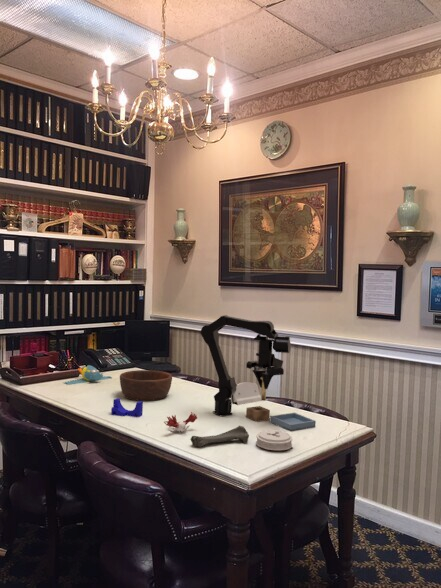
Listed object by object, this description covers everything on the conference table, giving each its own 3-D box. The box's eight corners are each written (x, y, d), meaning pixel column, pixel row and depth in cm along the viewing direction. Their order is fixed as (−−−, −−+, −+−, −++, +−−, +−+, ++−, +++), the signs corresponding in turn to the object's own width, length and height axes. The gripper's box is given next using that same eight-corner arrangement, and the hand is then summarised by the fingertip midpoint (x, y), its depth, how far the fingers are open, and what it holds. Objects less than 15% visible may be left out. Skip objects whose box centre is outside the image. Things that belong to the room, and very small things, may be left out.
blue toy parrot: (104, 361, 281) (120, 365, 271) (104, 376, 281) (119, 381, 271) (59, 366, 261) (74, 371, 250) (58, 382, 261) (73, 388, 251)
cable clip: (111, 415, 206) (111, 400, 205) (116, 412, 210) (117, 398, 210) (137, 418, 202) (138, 404, 202) (142, 415, 206) (142, 401, 206)
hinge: (237, 405, 229) (233, 383, 231) (231, 406, 232) (227, 385, 234) (263, 400, 239) (259, 379, 242) (256, 401, 243) (253, 381, 245)
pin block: (255, 421, 204) (256, 412, 204) (246, 417, 210) (246, 407, 210) (269, 419, 208) (269, 410, 208) (259, 415, 214) (259, 406, 214)
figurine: (184, 424, 197) (185, 407, 197) (203, 431, 188) (204, 414, 188) (153, 430, 187) (153, 413, 187) (171, 439, 178) (172, 420, 178)
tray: (290, 431, 193) (290, 424, 193) (270, 422, 204) (270, 416, 204) (315, 426, 200) (315, 420, 200) (294, 418, 211) (294, 412, 211)
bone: (243, 438, 183) (244, 422, 183) (252, 444, 177) (253, 427, 177) (188, 445, 174) (189, 428, 174) (195, 451, 168) (196, 433, 168)
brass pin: (262, 401, 205) (263, 378, 205) (257, 399, 208) (258, 376, 208) (269, 400, 207) (269, 377, 207) (264, 398, 210) (264, 375, 210)
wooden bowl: (108, 398, 232) (109, 376, 231) (136, 387, 255) (137, 368, 255) (155, 405, 222) (156, 383, 222) (180, 394, 246) (181, 373, 245)
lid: (282, 455, 167) (283, 441, 167) (249, 447, 174) (250, 433, 173) (297, 445, 177) (298, 432, 177) (266, 438, 184) (266, 425, 184)
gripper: (294, 353, 203) (293, 391, 204) (266, 347, 219) (265, 382, 220) (273, 355, 197) (271, 393, 198) (246, 348, 213) (245, 384, 214)
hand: (263, 388), depth 207 cm, fingers closed on brass pin, 3 cm apart
